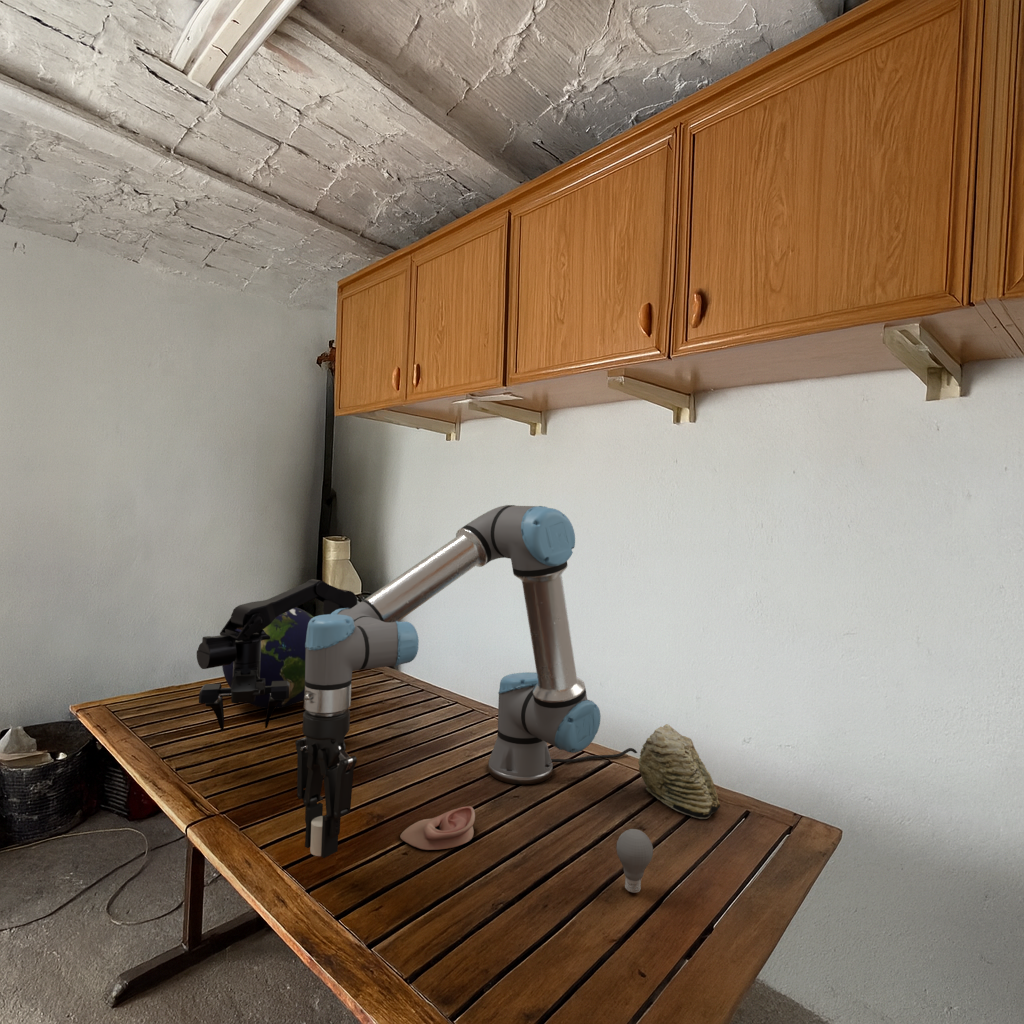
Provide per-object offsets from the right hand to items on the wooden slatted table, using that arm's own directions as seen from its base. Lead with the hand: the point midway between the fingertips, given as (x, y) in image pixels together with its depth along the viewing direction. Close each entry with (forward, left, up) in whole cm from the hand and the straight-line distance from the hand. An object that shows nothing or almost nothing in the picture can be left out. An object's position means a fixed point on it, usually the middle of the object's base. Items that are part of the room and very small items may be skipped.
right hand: (321, 848), depth 106 cm
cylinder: (0, 0, 0) cm, 0 cm away
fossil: (-75, -7, -5) cm, 76 cm away
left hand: (+13, -47, +5) cm, 49 cm away
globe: (+6, -91, -5) cm, 91 cm away
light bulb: (-49, +19, -5) cm, 52 cm away
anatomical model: (-22, -7, -5) cm, 24 cm away
